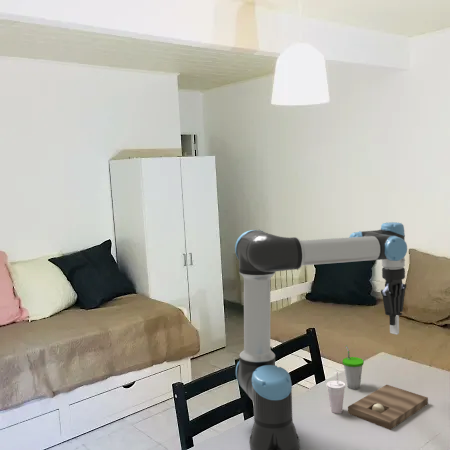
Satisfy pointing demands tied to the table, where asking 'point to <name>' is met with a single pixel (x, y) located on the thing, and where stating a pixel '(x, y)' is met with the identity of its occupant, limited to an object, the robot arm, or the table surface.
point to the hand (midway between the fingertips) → (394, 333)
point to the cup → (353, 371)
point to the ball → (378, 408)
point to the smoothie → (336, 394)
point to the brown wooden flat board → (388, 406)
